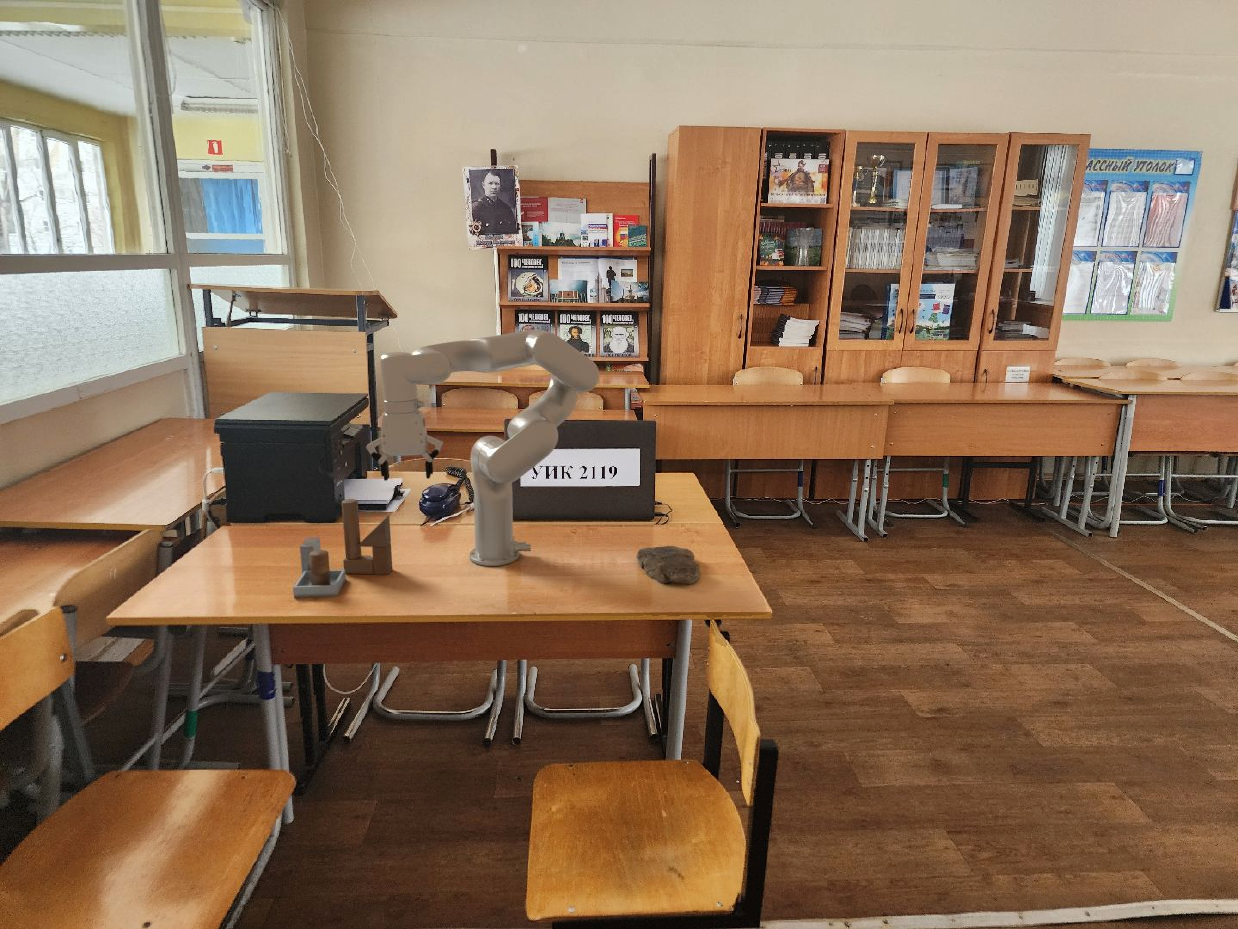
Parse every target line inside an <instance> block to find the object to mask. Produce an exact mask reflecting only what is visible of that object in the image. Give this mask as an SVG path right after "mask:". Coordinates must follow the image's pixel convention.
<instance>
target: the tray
mask: <svg viewBox="0 0 1238 929" xmlns="http://www.w3.org/2000/svg"><path fill="white" fill-rule="evenodd" d="M329 570H330V569H329ZM346 580H347V578H346V573H345V570H344V569H331V570H330V585H318V586H312V584H311V571H304V572H303V574H302V573H301V575H300V576H299V578H298V580H297V581H296V583H295V584H294V585H293V587H292V592H293V598H297V599H298V598H324V597H325V598H326V597H327V598H328V597H338V595H339V594H340V591H341V590H342V588H343V586H344V584H345V582H346Z"/></svg>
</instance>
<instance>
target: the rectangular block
mask: <svg viewBox="0 0 1238 929" xmlns="http://www.w3.org/2000/svg"><path fill="white" fill-rule="evenodd" d="M299 550H300V551H299V552H300V562H301V575H302V574H303V572H304V571H311V570H310V556H309V554H310V553H311V552H313V551H316V550H322V548H321V538H320V537H306V538H305V540H303V542H302V543H301V545H300V546H299Z"/></svg>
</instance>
